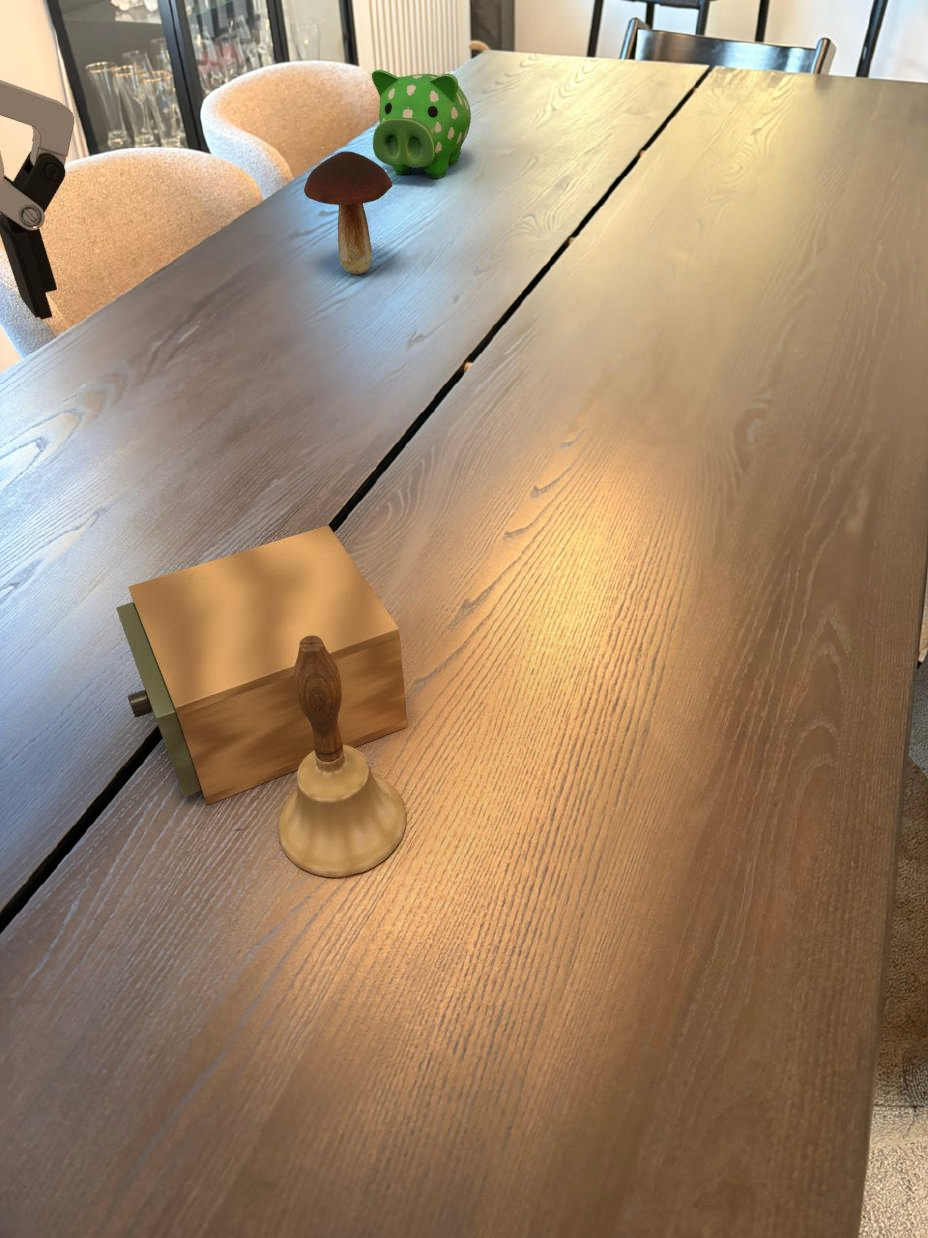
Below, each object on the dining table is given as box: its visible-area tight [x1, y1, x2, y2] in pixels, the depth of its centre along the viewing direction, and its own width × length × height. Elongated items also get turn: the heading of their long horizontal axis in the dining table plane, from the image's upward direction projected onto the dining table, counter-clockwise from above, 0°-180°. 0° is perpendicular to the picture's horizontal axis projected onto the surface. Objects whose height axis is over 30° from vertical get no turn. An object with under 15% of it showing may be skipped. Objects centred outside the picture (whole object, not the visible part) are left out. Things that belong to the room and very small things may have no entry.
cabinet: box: [128, 524, 408, 806], centre depth 66 cm, size 15×13×10 cm
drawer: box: [115, 601, 202, 798], centre depth 66 cm, size 15×11×8 cm
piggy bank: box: [371, 69, 472, 179], centre depth 152 cm, size 14×18×15 cm
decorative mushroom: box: [303, 150, 393, 275], centre depth 122 cm, size 11×11×15 cm
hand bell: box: [277, 635, 407, 878], centre depth 57 cm, size 8×8×16 cm
